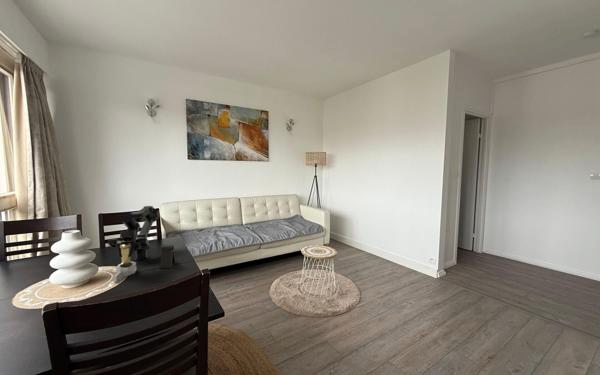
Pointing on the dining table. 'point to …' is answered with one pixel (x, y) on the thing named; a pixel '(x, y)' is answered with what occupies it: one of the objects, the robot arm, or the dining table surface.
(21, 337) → the dining table surface
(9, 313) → the dining table surface
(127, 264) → the yellow tall cylinder
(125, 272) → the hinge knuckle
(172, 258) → the door stopper
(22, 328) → the dining table surface
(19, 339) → the dining table surface
